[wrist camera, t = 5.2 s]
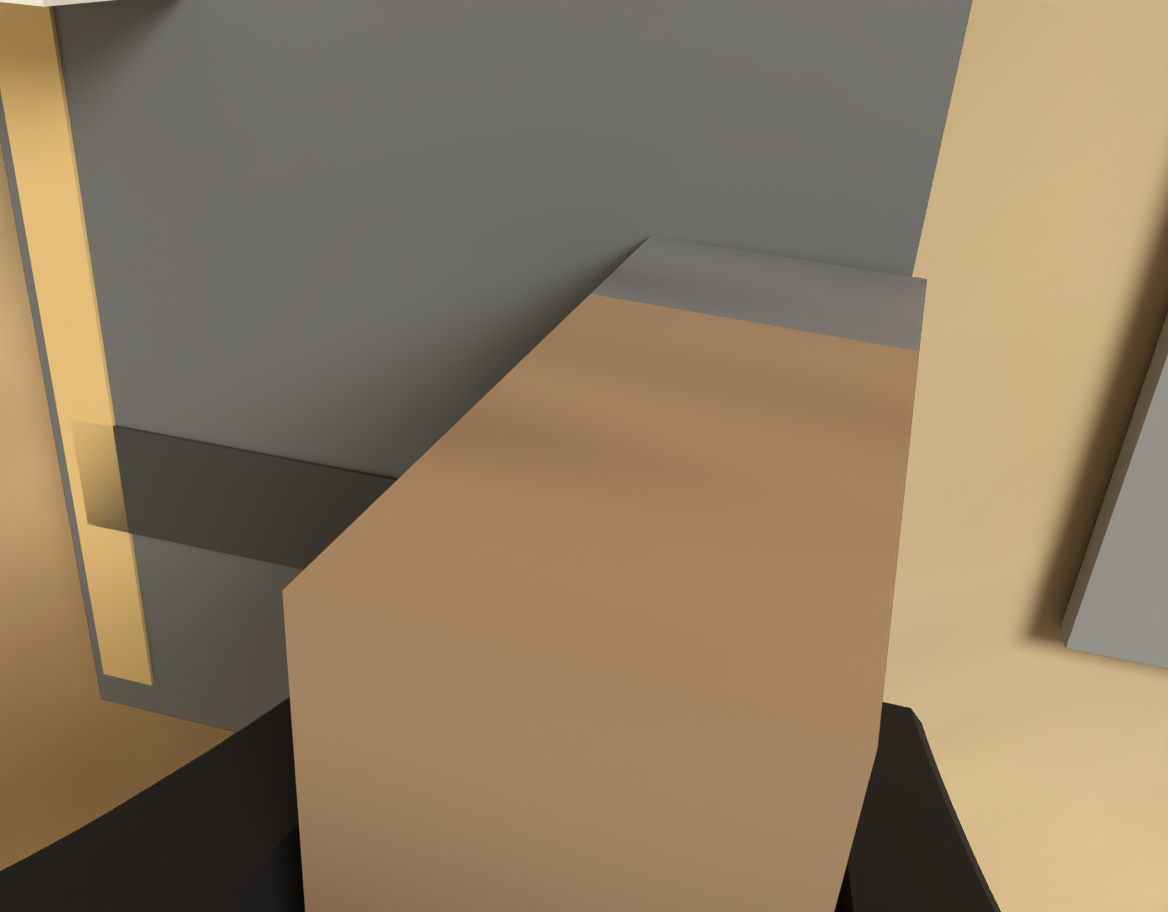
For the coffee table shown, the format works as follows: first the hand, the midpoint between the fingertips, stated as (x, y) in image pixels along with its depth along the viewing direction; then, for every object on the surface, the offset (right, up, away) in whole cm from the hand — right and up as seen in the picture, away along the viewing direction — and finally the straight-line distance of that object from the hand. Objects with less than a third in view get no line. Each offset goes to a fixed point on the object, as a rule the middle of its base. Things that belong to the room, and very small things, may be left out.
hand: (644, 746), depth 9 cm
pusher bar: (+1, +1, +2) cm, 2 cm away
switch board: (-2, +4, +3) cm, 6 cm away
